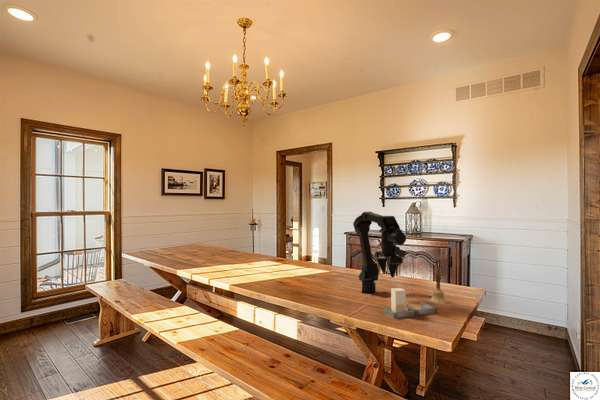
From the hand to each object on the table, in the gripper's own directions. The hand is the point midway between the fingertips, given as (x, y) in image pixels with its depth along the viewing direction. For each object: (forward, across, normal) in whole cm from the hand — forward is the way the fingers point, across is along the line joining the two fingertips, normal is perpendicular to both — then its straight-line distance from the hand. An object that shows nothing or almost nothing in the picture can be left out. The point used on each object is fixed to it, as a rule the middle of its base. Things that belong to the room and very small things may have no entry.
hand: (388, 275), depth 150 cm
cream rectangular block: (+12, -16, +3) cm, 21 cm away
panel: (+13, -15, -2) cm, 20 cm away
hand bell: (+13, -5, -23) cm, 27 cm away
